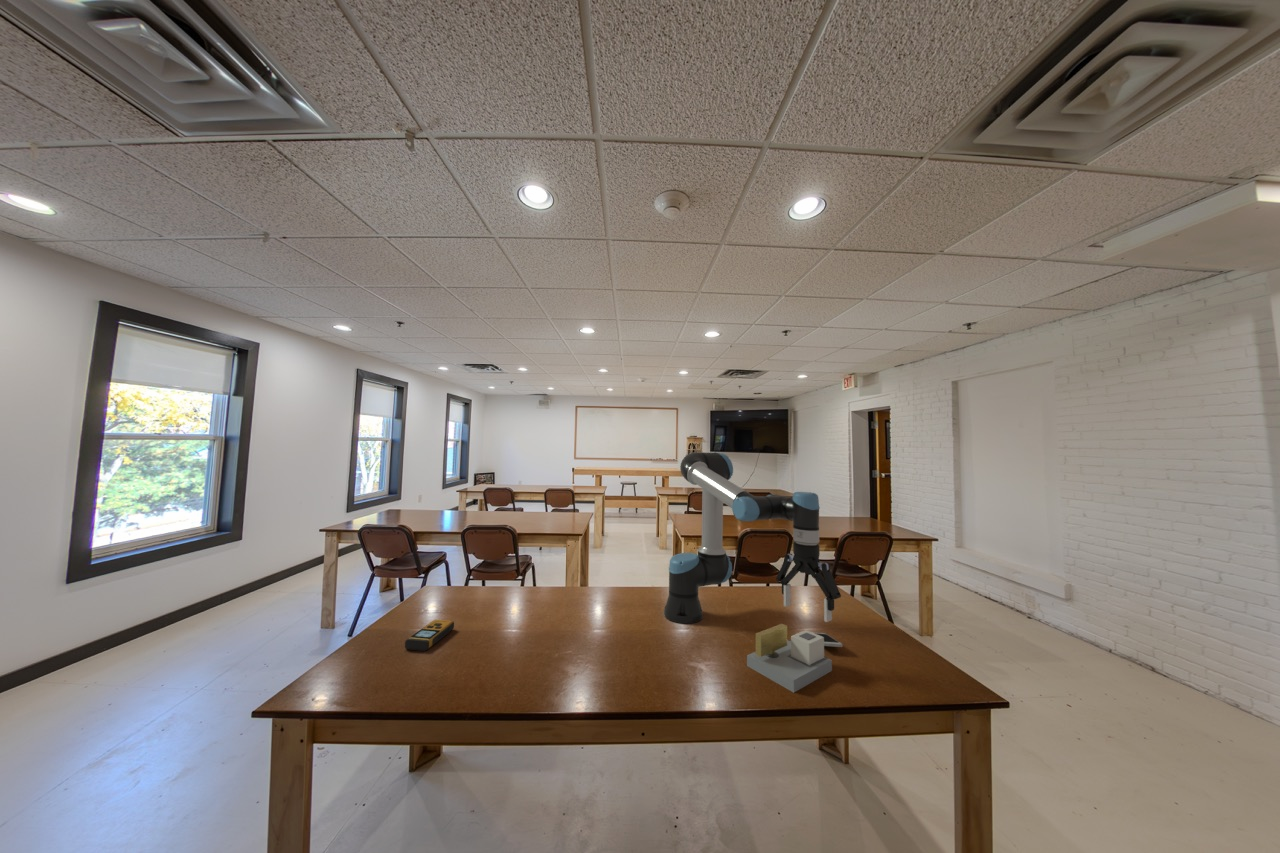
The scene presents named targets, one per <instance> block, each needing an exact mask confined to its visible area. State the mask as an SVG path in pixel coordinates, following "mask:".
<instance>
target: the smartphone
mask: <svg viewBox="0 0 1280 853" xmlns="http://www.w3.org/2000/svg"><path fill="white" fill-rule="evenodd" d="M811 632H812V631H811ZM812 633H815V634H817V635H820V636H822V637H824V647H836V648H837V647H838V648H843V643H842V642H840V641H838V640H836V639H835V638H834V637H832V636H830V635H829V634H827V633H825V632H812Z"/></svg>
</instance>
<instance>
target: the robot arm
mask: <svg viewBox="0 0 1280 853" xmlns="http://www.w3.org/2000/svg"><path fill="white" fill-rule="evenodd" d="M679 468H680V473H681V475H682V477H683V478H684V479H685V481H687V482H688V483H689V484H691V485H693V486H698V487H700V488H702V489H701V490H702V491H701V492H702V493H701V494H702V496H701V498H702V499H701V503H702V504H701V507H702V508H701V545H700V547H699V548H697V553H694V552H681V553H677V554H674V555H672V557H671V558H670V560H669V564H668V565H669V566H668V572H669V574H668V596H667V600H666V603H665V606H664V609H663V615H665V616H664V617H665V618H666V619H667V620H668V619H669V621H671V622H674V623H677V624H678V623H679V624H694V623H698V622H700V621H701V620H702V619H703V614H704V613H703V609H702V605H701V601H700V598H699V588H702V587H707V586H713V585H720V584H723V583H726V582H727V581H728V580H730V577H731V576H732V572H733V564H732V561H731V558H730V557H729V555H728V554H727V550H725V548H723V534H724V533H723V531H724V530H723V529H724V518H723V517H724V511H723V510H724V504H725V505H727V506H728V507H729V508H730V509H731V510H732V513H733V515H734V517H735V519H737V520H738V521H741V522H753V521H754V522H755V521H766V520H785V521H786V520H787V521H791V522H792V528H793V530H792V532H793V533H792V534H793V536H792V537H793V538H792V539H793V543H792V546H793V549H792V550H793V551H792V552H793V553H786V554H785V555H784V559H783V563H782V565H781V567H780V569H779V571H778V573H777V576H776V579H775V580H776V581H777V582H779V583H780V584H781V594H782V595H783V607H789V606H791V605H792V603H791V602H792V587H791V586H792V585H791V584H790V582H791V581H792V580H793V578H795V576H796V575H797V574H799V573H801V574H806V575H808V576H810V575H811V577H812V578H813V579H814V580H815V582H816V583H817V584H818V586H819V588H820V589H821V591H822V592H823V594H824V596H825V598H823V620H824V622H825V623H828V622H829V623H830V621H832V620H833V615H832V613H833V612H832V611H834V610H835V600H838V599H840V598H841V597H842V595H841V591H840V589H839V587H838V585H837V582H836V581H835V579H834V576H833V574H832V572H831V566H830V563H829V562H821V561H820V556H821V555H820V544H819V543H820V504H819V499H820V498H819V495H818V494H817V493H815V492H808V491H795V492H794V493H793V494H792V496H786V495H780V494H768V495H765V496H764V495H762V496H761V495H760V496H756V495H753V494H752V493H750V492H748V491H746V490H745V489H743V488H741V487H740V486H739V485H736V484H735V483H733V482H731V481H730V479H731V478H732V477H733V475H734V467H733V462H732V460H731V459H730V458H729V456H728V455H727V454H724V453H720V452H697V451H696V452H695V451H694V452H691V453H688V454H687V455H685V456H684V457H683V459H682V460H681V463H680V467H679ZM793 554H794V555H793ZM792 563H794V566H793V567H792V568H791V569H790V567H791V565H792ZM819 568H820V569H819ZM789 569H790V571H789ZM820 570H821V571H820Z"/></svg>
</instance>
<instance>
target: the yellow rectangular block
mask: <svg viewBox="0 0 1280 853" xmlns="http://www.w3.org/2000/svg"><path fill="white" fill-rule="evenodd" d="M787 640H788V625H786V624H783V623H779V624H777V625H775V626H772V627H768V628H767V629H764V630H761V631H759V632H755V652H756V655H758V656H760V657H762V656H764V655H767V654H771V655H774V654H775V651H776V650H778V649H780V648H783V647H785V646H787Z"/></svg>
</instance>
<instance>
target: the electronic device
mask: <svg viewBox="0 0 1280 853" xmlns="http://www.w3.org/2000/svg"><path fill="white" fill-rule="evenodd" d="M454 629H455V621H453V620H443V619H434V620H431V621H430V622H429V623H428V624H427V625H424V626H423V627H422V628H420V630H418V631H417V632H415V633H414V634H412V635H411V636H410V637H409V638H407V639H406V640H405V641H404V648H405V649H406V650H408V651H409V650H410V651H411V650H412V651H420V652H421V651H422V652H426V651H428V650H429V649H430V648H431V647H432V646H434V645H436V644H437V643H438V642H439V641H441V639H442V638H444V637H445V636H447V635H448V634H449V633H450V632H451V631H453V630H454Z"/></svg>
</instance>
